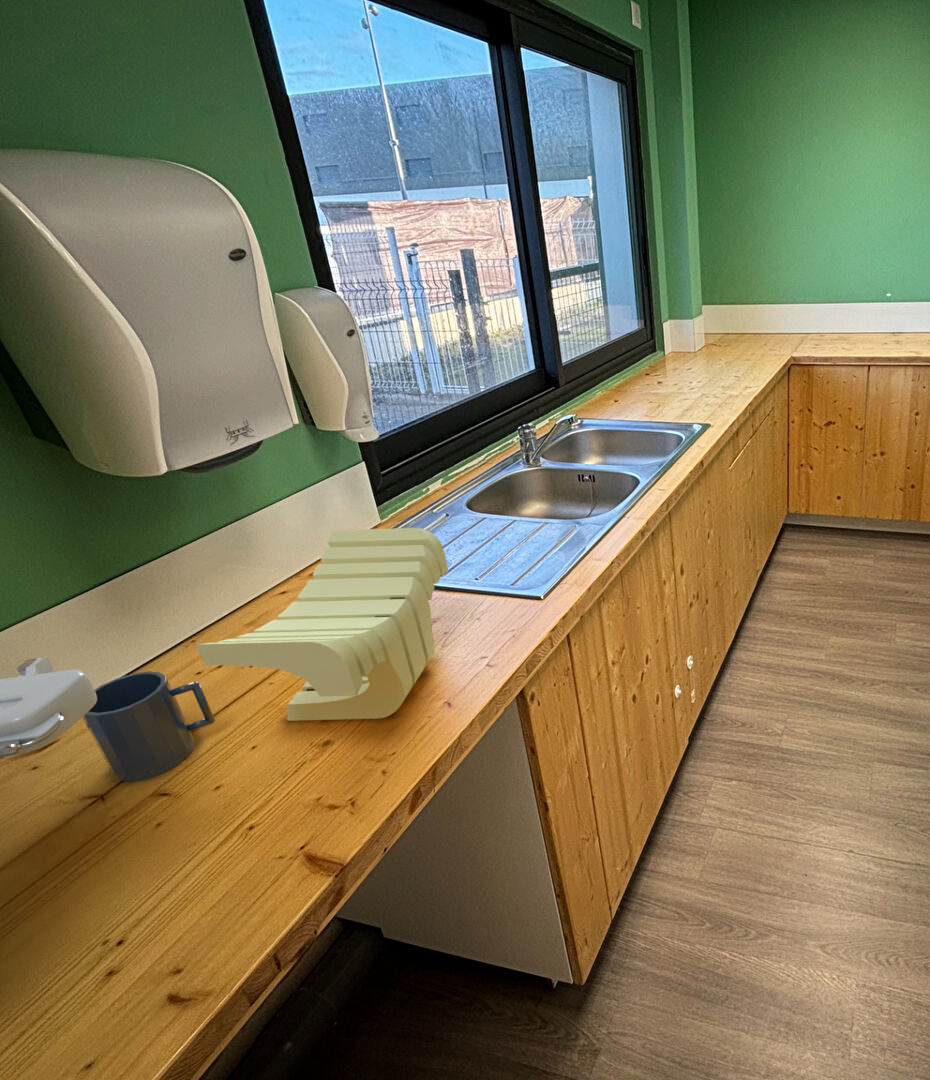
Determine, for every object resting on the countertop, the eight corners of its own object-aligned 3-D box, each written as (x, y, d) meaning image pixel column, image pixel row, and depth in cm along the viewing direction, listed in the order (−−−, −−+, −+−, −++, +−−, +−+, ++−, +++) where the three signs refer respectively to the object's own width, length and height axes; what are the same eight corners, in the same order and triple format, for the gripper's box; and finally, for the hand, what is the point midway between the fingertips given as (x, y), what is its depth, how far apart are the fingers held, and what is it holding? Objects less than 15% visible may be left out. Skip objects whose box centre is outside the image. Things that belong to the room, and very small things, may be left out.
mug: (111, 792, 82) (74, 724, 77) (116, 752, 88) (82, 688, 83) (222, 752, 87) (194, 687, 83) (220, 717, 93) (193, 655, 89)
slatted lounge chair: (378, 764, 84) (339, 640, 77) (248, 767, 85) (196, 644, 77) (461, 628, 112) (438, 527, 104) (362, 631, 112) (332, 530, 104)
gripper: (18, 717, 55) (115, 625, 67) (-306, 763, 51) (-140, 657, 63) (54, 777, 57) (141, 678, 70) (-251, 826, 54) (-103, 712, 66)
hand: (5, 668), depth 66 cm, fingers open, 5 cm apart
